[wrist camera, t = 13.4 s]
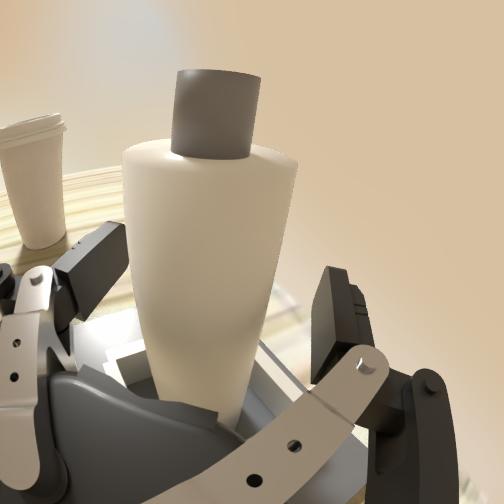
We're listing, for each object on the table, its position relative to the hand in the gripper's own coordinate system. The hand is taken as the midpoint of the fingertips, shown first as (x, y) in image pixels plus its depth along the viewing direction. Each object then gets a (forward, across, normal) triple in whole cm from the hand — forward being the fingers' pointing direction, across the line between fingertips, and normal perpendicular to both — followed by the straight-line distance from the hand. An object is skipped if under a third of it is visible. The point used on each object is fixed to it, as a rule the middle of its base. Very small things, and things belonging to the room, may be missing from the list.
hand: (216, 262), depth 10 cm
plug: (-2, 0, +9) cm, 10 cm away
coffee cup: (+12, +26, +11) cm, 31 cm away
